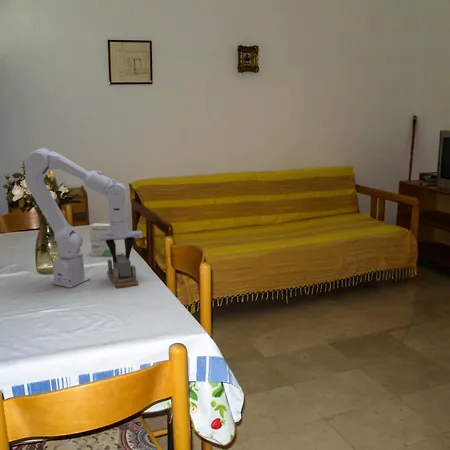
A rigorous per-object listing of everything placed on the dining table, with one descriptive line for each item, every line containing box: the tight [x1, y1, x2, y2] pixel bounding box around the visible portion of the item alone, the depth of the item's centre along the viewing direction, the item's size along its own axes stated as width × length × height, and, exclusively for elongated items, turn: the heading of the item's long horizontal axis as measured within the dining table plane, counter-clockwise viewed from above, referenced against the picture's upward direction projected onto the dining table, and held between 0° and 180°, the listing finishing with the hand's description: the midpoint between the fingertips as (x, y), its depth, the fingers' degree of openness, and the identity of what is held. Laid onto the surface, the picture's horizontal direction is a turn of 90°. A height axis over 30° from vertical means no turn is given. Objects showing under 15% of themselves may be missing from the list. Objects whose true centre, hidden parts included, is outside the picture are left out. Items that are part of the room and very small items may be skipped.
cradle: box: [106, 258, 139, 289], centre depth 176 cm, size 16×7×6 cm, turn 22°
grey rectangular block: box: [112, 252, 132, 277], centre depth 175 cm, size 12×4×5 cm, turn 22°
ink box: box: [89, 222, 117, 257], centre depth 203 cm, size 9×5×12 cm, turn 84°
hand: (121, 260), depth 175 cm, fingers closed on grey rectangular block, 3 cm apart
